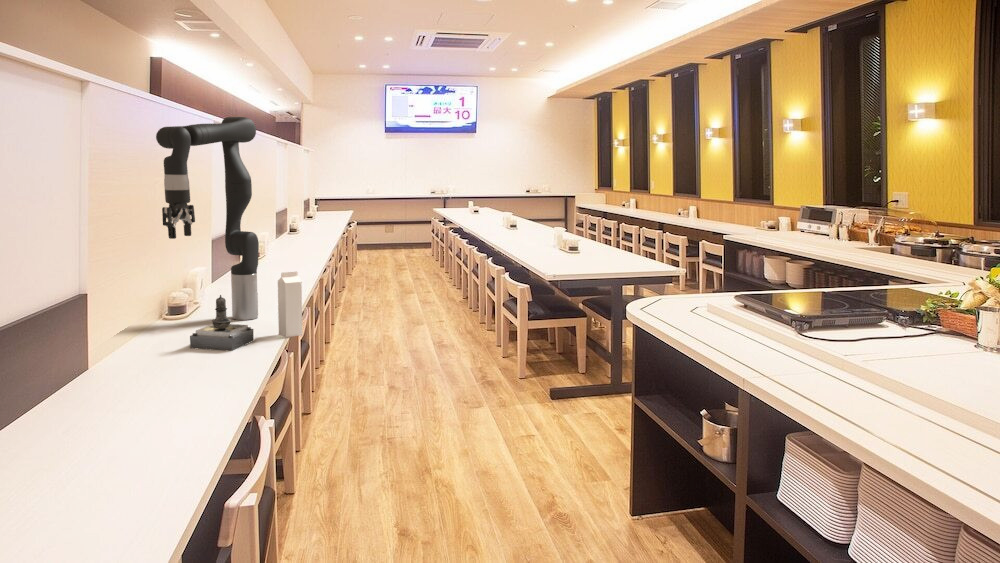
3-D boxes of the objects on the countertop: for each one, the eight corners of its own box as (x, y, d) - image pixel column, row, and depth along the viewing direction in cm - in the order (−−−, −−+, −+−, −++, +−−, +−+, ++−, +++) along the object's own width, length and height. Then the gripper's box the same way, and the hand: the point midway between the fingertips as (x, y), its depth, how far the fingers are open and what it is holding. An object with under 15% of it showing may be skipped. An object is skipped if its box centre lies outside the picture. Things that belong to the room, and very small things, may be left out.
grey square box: (214, 338, 229) (213, 322, 229) (253, 340, 228) (253, 324, 227) (190, 348, 216) (189, 331, 215) (232, 350, 214) (231, 333, 213)
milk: (302, 335, 238) (302, 272, 234) (286, 337, 233) (285, 273, 230) (294, 332, 242) (293, 270, 239) (278, 334, 238) (277, 271, 235)
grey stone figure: (215, 329, 224) (214, 293, 222) (233, 329, 224) (232, 293, 222) (209, 333, 218) (208, 296, 216) (228, 333, 218) (227, 296, 217)
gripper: (174, 189, 219) (177, 240, 221) (199, 187, 232) (202, 235, 235) (152, 189, 220) (156, 239, 222) (179, 187, 233) (182, 234, 236)
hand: (180, 237), depth 229 cm, fingers open, 8 cm apart
